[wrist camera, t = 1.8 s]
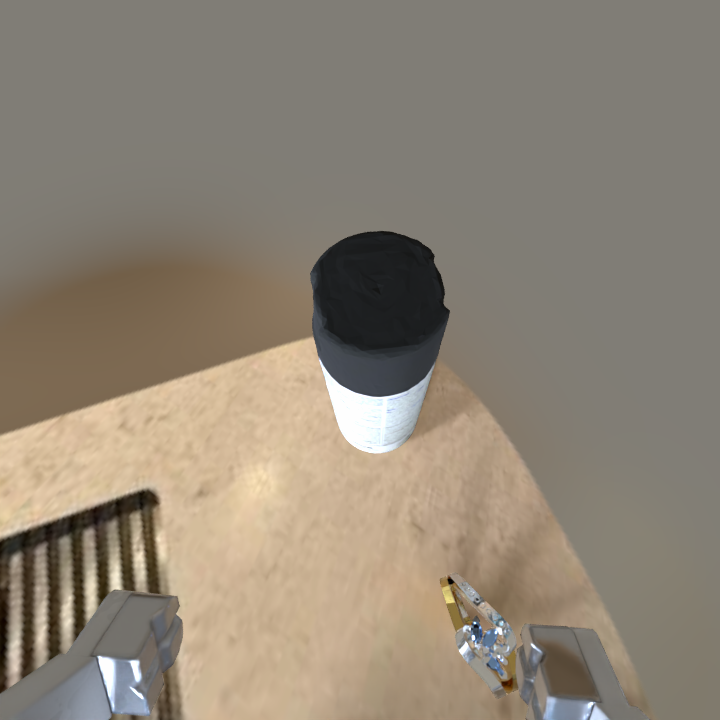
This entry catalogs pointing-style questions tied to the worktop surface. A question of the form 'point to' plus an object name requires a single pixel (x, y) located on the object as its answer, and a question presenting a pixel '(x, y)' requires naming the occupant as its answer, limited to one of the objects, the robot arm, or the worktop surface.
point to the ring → (482, 637)
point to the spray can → (377, 333)
